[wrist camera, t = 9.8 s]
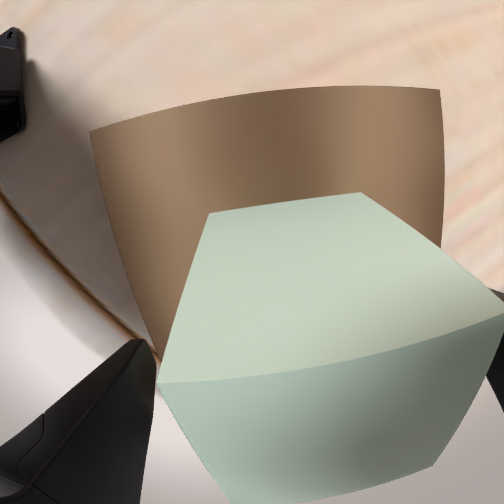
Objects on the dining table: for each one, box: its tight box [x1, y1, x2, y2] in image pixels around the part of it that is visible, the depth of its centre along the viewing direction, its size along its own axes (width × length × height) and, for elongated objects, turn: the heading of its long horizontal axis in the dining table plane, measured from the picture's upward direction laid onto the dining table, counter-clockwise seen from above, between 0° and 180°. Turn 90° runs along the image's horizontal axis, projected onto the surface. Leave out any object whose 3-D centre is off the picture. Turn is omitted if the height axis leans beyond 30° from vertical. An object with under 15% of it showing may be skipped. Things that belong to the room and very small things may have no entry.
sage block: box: [156, 192, 504, 504], centre depth 7 cm, size 5×5×7 cm
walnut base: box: [89, 86, 445, 363], centre depth 12 cm, size 12×12×4 cm
